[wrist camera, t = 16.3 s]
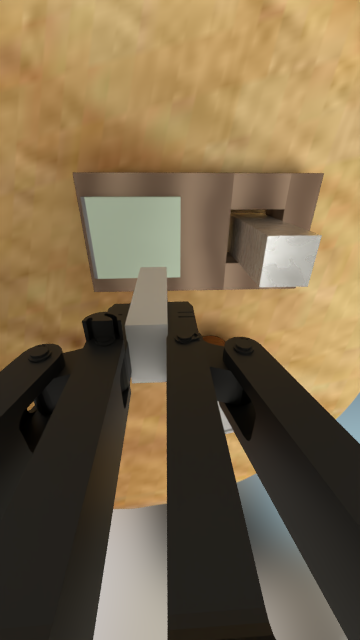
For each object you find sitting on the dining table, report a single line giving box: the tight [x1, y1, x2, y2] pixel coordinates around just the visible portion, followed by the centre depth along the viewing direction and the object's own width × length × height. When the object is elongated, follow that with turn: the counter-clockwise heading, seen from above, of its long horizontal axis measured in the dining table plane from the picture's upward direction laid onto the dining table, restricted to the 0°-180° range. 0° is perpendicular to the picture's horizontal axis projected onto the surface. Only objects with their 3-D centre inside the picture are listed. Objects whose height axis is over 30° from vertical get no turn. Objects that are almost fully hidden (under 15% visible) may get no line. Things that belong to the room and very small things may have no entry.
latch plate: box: [80, 196, 181, 279], centre depth 26 cm, size 10×8×1 cm
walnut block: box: [73, 173, 324, 292], centre depth 29 cm, size 24×12×5 cm, turn 90°
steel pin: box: [227, 212, 322, 287], centre depth 25 cm, size 4×4×14 cm
